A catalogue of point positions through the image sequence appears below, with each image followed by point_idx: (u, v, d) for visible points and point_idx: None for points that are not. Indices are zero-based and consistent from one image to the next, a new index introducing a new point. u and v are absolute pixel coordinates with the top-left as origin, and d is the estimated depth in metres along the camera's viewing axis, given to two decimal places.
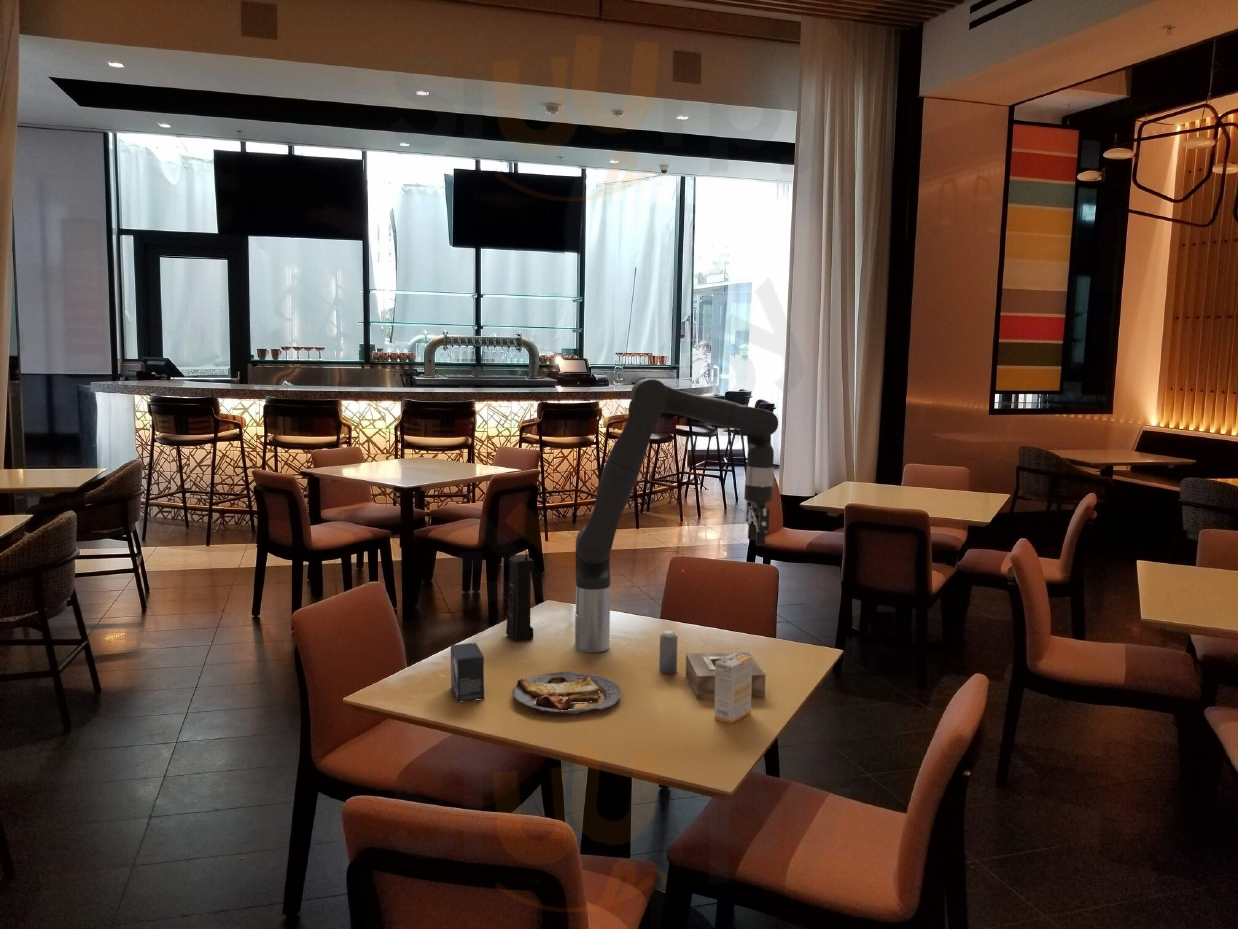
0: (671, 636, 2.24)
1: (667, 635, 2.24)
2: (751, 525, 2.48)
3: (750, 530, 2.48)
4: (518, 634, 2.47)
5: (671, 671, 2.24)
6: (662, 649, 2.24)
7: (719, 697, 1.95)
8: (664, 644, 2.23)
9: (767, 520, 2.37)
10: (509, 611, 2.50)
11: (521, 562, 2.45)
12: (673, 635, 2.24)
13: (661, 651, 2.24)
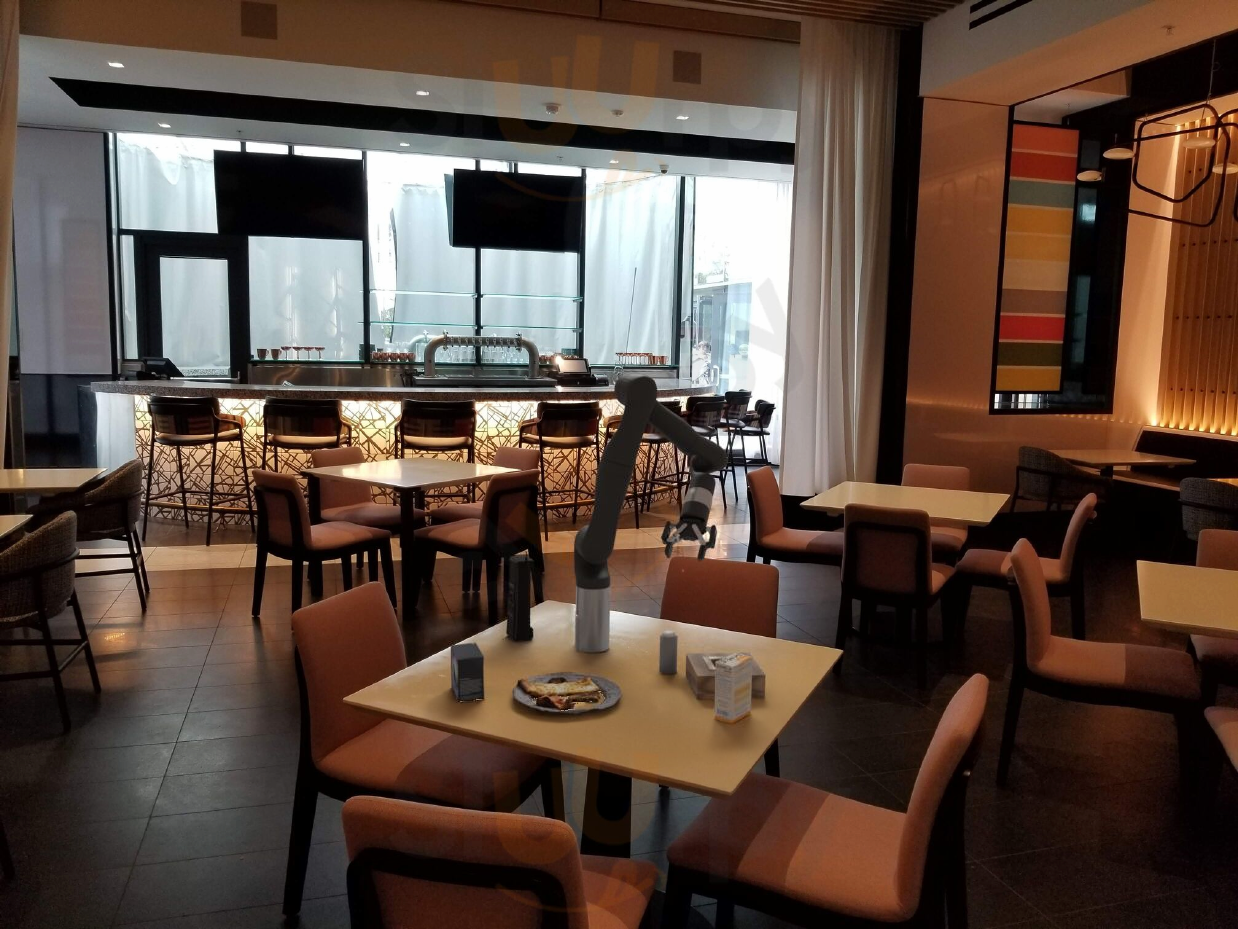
0: (671, 636, 2.24)
1: (667, 635, 2.24)
2: (671, 543, 2.38)
3: (670, 547, 2.37)
4: (518, 634, 2.47)
5: (671, 671, 2.24)
6: (662, 649, 2.24)
7: (719, 697, 1.95)
8: (664, 644, 2.23)
9: (715, 539, 2.36)
10: (509, 611, 2.50)
11: (521, 562, 2.45)
12: (673, 635, 2.24)
13: (661, 651, 2.24)
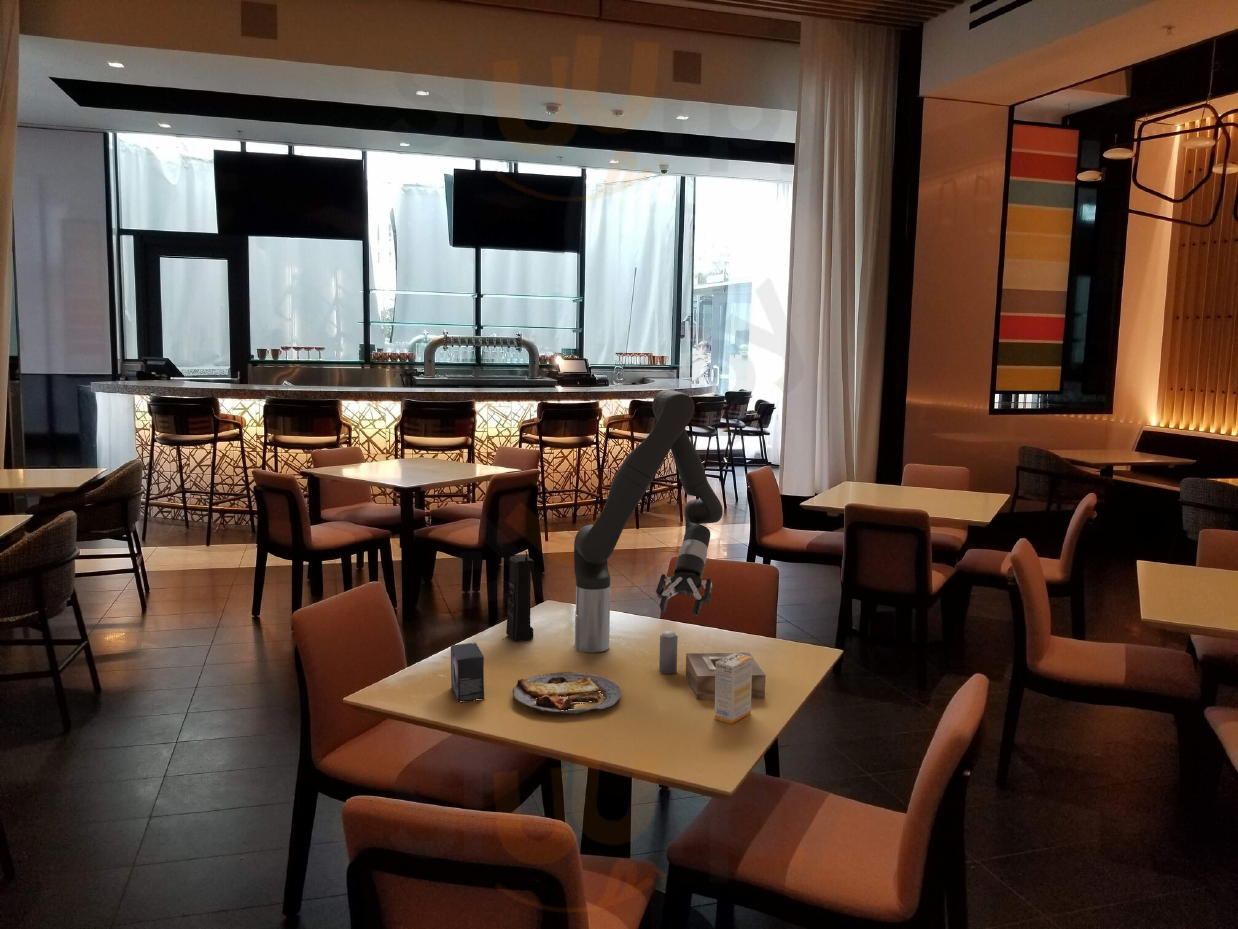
0: (671, 636, 2.24)
1: (667, 635, 2.24)
2: (666, 597, 2.36)
3: (665, 601, 2.35)
4: (518, 634, 2.47)
5: (671, 671, 2.24)
6: (662, 649, 2.24)
7: (719, 697, 1.95)
8: (664, 644, 2.23)
9: (710, 593, 2.35)
10: (509, 611, 2.50)
11: (521, 562, 2.45)
12: (673, 635, 2.24)
13: (661, 651, 2.24)
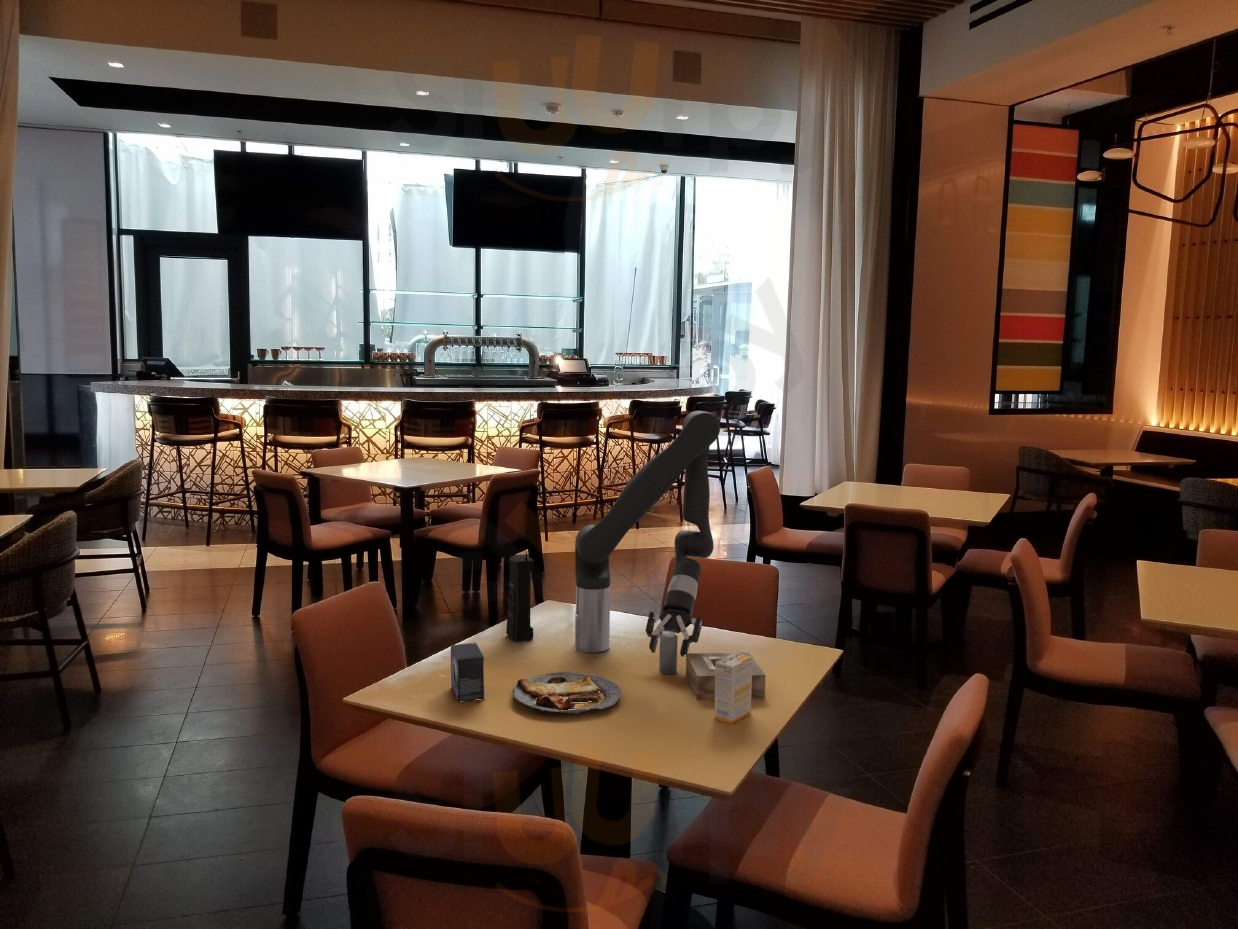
0: (671, 636, 2.24)
1: (667, 635, 2.24)
2: (656, 636, 2.28)
3: (655, 641, 2.27)
4: (518, 634, 2.47)
5: (671, 671, 2.24)
6: (662, 649, 2.24)
7: (719, 697, 1.95)
8: (664, 644, 2.23)
9: (699, 632, 2.27)
10: (509, 611, 2.50)
11: (521, 562, 2.45)
12: (673, 635, 2.24)
13: (661, 651, 2.24)
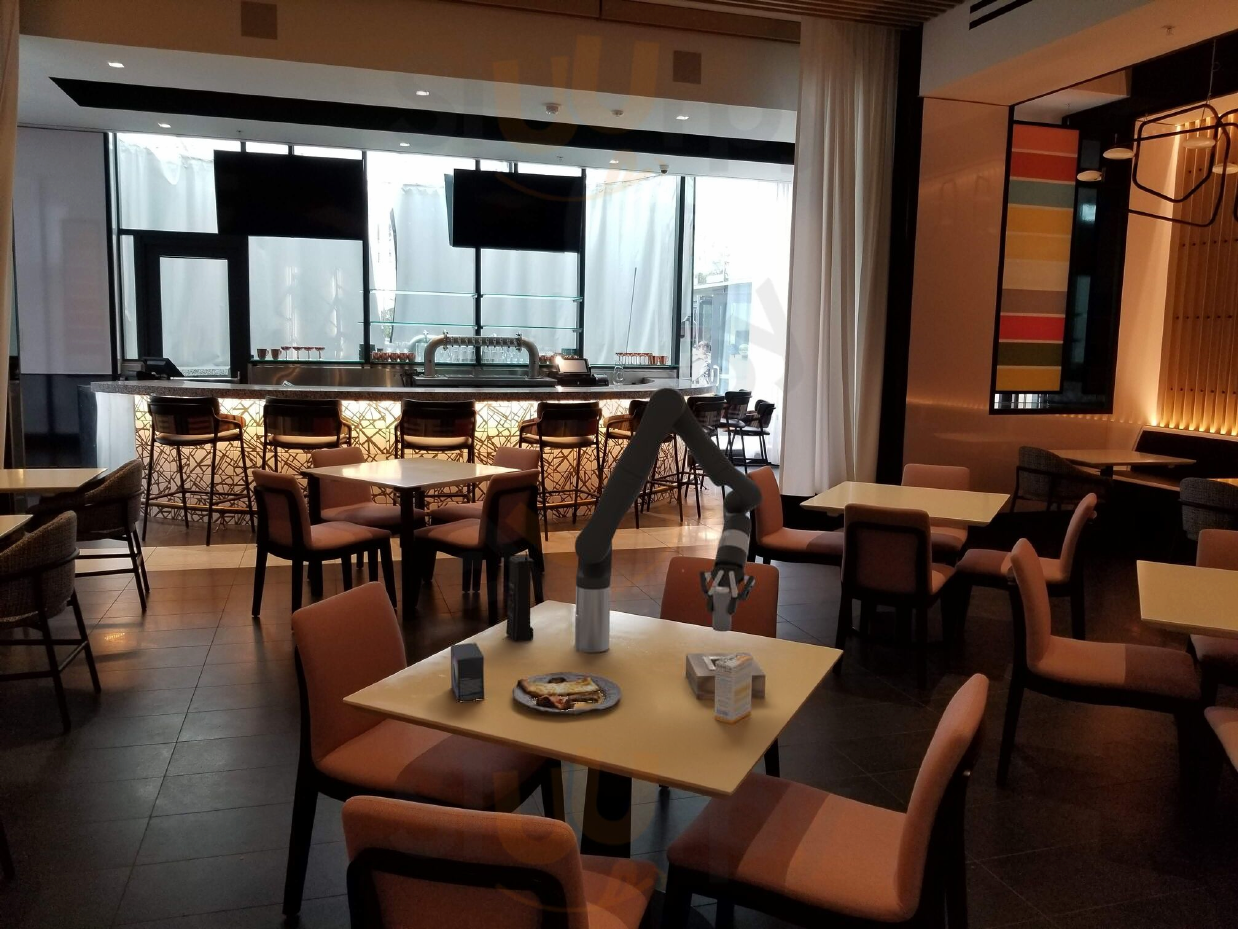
0: (725, 592, 2.13)
1: (721, 591, 2.13)
2: None
3: None
4: (518, 634, 2.47)
5: (725, 628, 2.14)
6: (716, 605, 2.14)
7: (719, 697, 1.95)
8: (718, 600, 2.13)
9: (750, 591, 2.16)
10: (509, 611, 2.50)
11: (521, 562, 2.45)
12: (727, 591, 2.14)
13: (715, 608, 2.14)
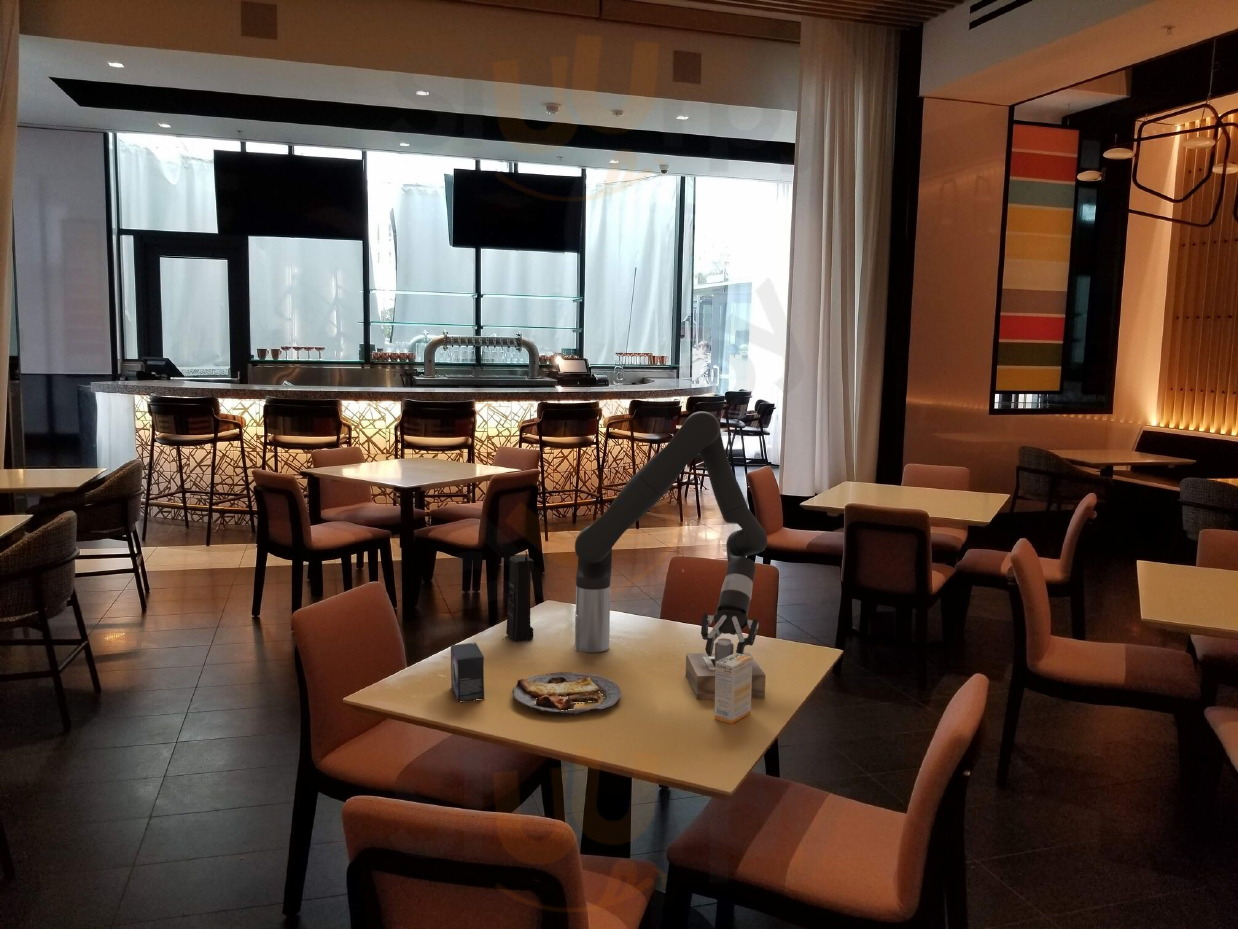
0: (727, 644, 2.14)
1: (723, 643, 2.14)
2: (713, 639, 2.17)
3: (712, 644, 2.16)
4: (518, 634, 2.47)
5: None
6: (718, 658, 2.14)
7: (719, 697, 1.95)
8: (720, 652, 2.14)
9: (755, 635, 2.16)
10: (509, 611, 2.50)
11: (521, 562, 2.45)
12: (729, 643, 2.14)
13: (717, 660, 2.15)
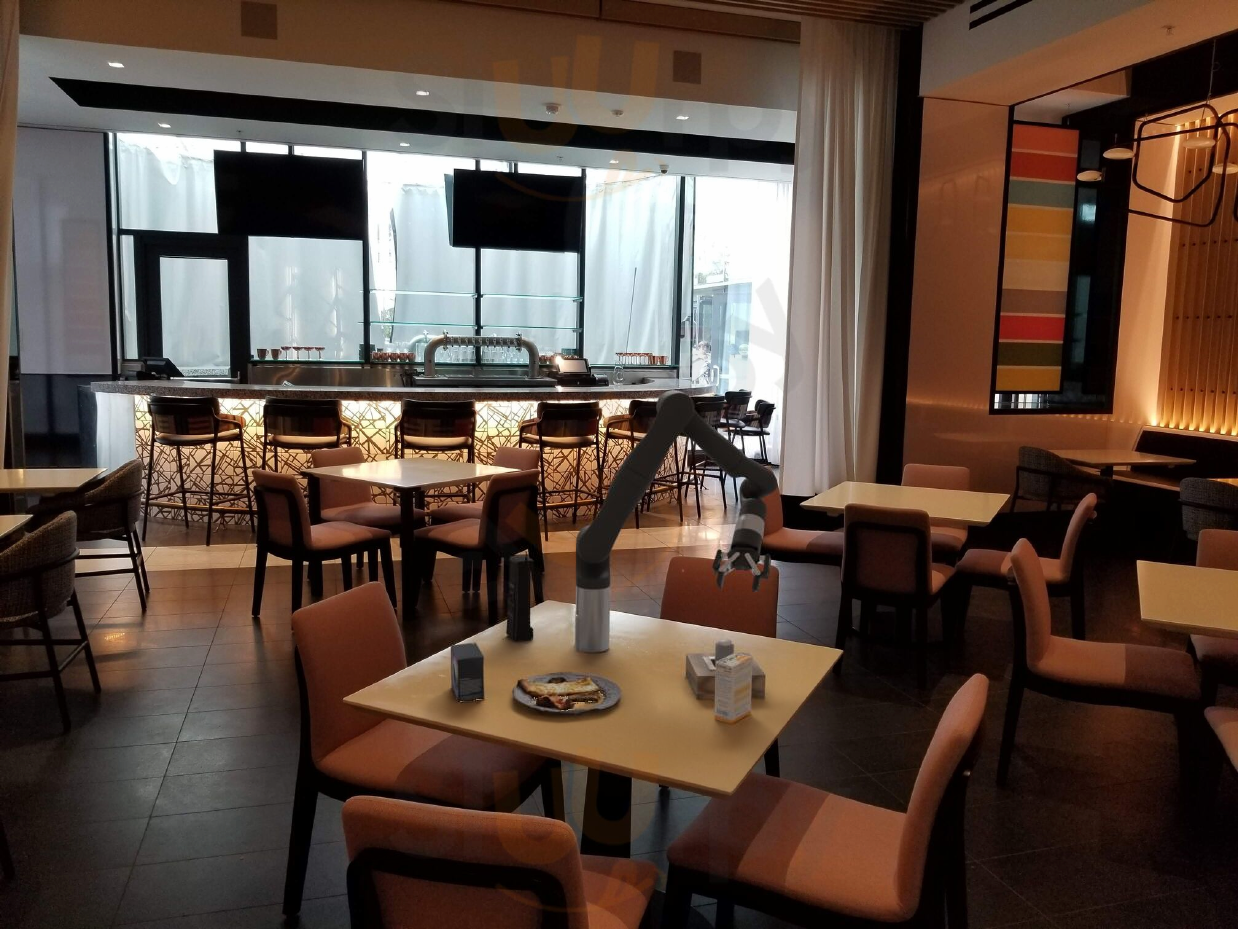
0: (727, 644, 2.14)
1: (723, 643, 2.14)
2: (723, 572, 2.28)
3: (723, 577, 2.27)
4: (518, 634, 2.47)
5: None
6: (718, 658, 2.14)
7: (719, 697, 1.95)
8: (720, 652, 2.14)
9: (769, 568, 2.27)
10: (509, 611, 2.50)
11: (521, 562, 2.45)
12: (729, 643, 2.14)
13: (717, 660, 2.15)
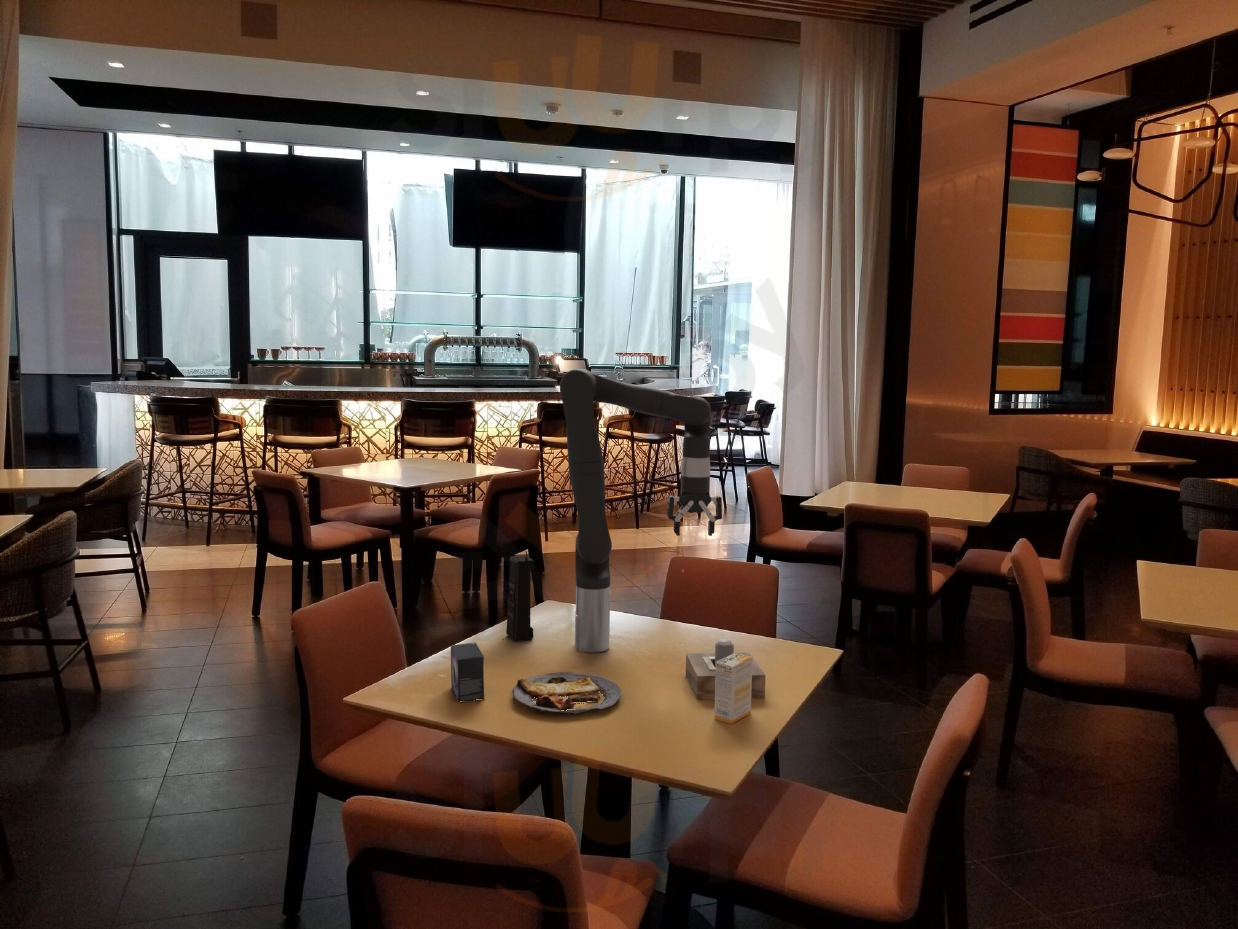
0: (727, 644, 2.14)
1: (723, 643, 2.14)
2: None
3: (679, 525, 2.35)
4: (518, 634, 2.47)
5: None
6: (718, 658, 2.14)
7: (719, 697, 1.95)
8: (720, 653, 2.14)
9: None
10: (509, 611, 2.50)
11: (521, 562, 2.45)
12: (729, 643, 2.14)
13: (717, 660, 2.15)
